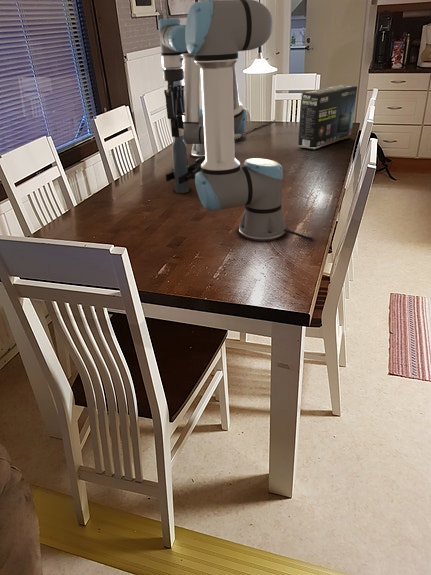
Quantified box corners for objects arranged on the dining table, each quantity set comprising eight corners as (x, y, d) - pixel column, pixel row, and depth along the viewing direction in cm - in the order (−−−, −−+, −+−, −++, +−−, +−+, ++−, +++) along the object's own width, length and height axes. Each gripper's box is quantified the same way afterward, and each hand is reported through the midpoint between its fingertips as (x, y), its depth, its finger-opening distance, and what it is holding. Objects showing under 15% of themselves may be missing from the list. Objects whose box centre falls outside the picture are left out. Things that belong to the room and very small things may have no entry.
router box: (314, 151, 231) (318, 94, 217) (296, 148, 237) (299, 92, 224) (352, 138, 251) (358, 85, 238) (335, 135, 258) (340, 83, 245)
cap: (185, 134, 177) (185, 128, 176) (180, 136, 174) (180, 131, 173) (175, 133, 179) (175, 127, 178) (170, 136, 175) (169, 130, 174)
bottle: (187, 193, 185) (183, 133, 173) (174, 193, 185) (168, 133, 173) (190, 188, 190) (186, 130, 178) (176, 188, 190) (172, 130, 178)
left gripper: (225, 175, 194) (192, 192, 178) (190, 169, 203) (155, 184, 187) (224, 158, 190) (191, 173, 174) (189, 152, 200) (154, 166, 183)
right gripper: (173, 71, 156) (178, 141, 168) (191, 65, 170) (195, 130, 182) (153, 71, 158) (159, 140, 170) (172, 65, 172) (177, 129, 184)
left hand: (173, 179), depth 181 cm, fingers closed on bottle, 6 cm apart
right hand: (178, 135), depth 176 cm, fingers closed on cap, 4 cm apart
